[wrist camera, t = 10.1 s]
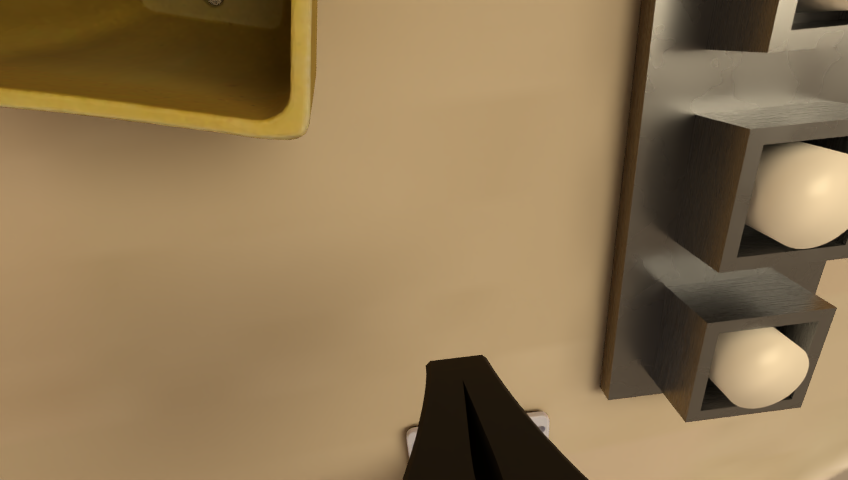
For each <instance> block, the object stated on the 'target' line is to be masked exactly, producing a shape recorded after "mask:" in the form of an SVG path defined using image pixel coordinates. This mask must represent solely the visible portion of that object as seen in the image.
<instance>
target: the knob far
mask: <svg viewBox="0 0 848 480" xmlns="http://www.w3.org/2000/svg"><path fill="white" fill-rule="evenodd" d="M808 368H809V359H808V356H807V354H806V352H805V351H804V350H803V349H802V348H800V347H799V346H798V345H797V344H795V343H794V342H793V341H791V340H790V339H789V338H787V337H786V336H785V335H783V334H782V333H781V332H779V331H778V330H777V329H775V328H774V327H768V328H760V329H752V330H744V331H735V332H727V333H719V335H718V339H717V343H716V347H715V352H714V356H713V360H712V364H711V368H710V373H709V379H710V380H711V381H712V382H713V383H714V384H715V385H716V386H717V387H718V388H719V389H720V390H721V391H722V392H723V393H724V394H725V395H726V397H727V398H728V399H729V400H730V401H731V402H732V403H733V404H735V405H737V406H739V407H742V408H748V409H755V408H762V407H766V406H769V405H772V404H774V403H777V402H779V401H781V400H782V399H784V398H786V397H787V396H788V395H790V394H791V393H792V392H793V391H794V390H796V389H797V388H798V386H799V385H800V384H801V383H802V381H803V380H804V378H805V376H806V374H807V372H808Z"/></svg>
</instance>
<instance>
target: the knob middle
mask: <svg viewBox="0 0 848 480" xmlns="http://www.w3.org/2000/svg"><path fill="white" fill-rule="evenodd" d="M745 224H746V225H748V226H750V227H751V228H753V229H755V230H757V231H759V232H761V233H763V234H765V235H767V236H768V237H770V238H772V239H774V240H776V241H778V242H780V243H782V244H783V245H785V246H788V247H790V248H795V249H808V248H814V247H817V246H820V245H823V244H825V243H827V242H829V241H831V240H833V239H835V238H836V237H838V236H839V235H841V234H842V233H843V232H845V231H846V230H847V229H848V154H846V153H842V152H838V151H835V150H831V149H827V148H823V147H819V146H816V145H812V144H808V143H804V142H800V141H796V142H786V143H777V144H767V145H763V149H762V154H761V158H760V162H759V166H758V170H757V175H756V179H755V183H754V187H753V191H752V196H751V200H750V204H749V208H748V213H747V217H746V221H745Z"/></svg>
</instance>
